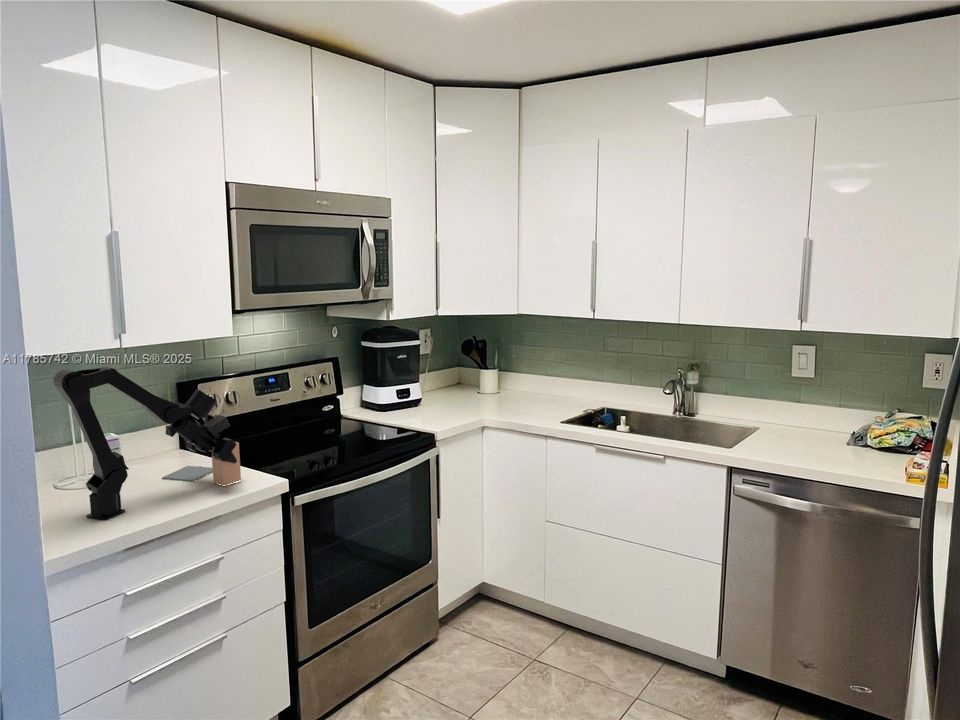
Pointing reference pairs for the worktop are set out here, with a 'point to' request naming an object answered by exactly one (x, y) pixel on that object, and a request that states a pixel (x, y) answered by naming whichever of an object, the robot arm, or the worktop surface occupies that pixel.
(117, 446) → the syrup box
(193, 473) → the rubber mat
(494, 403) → the worktop surface
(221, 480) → the salmon pink pillar
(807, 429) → the worktop surface
